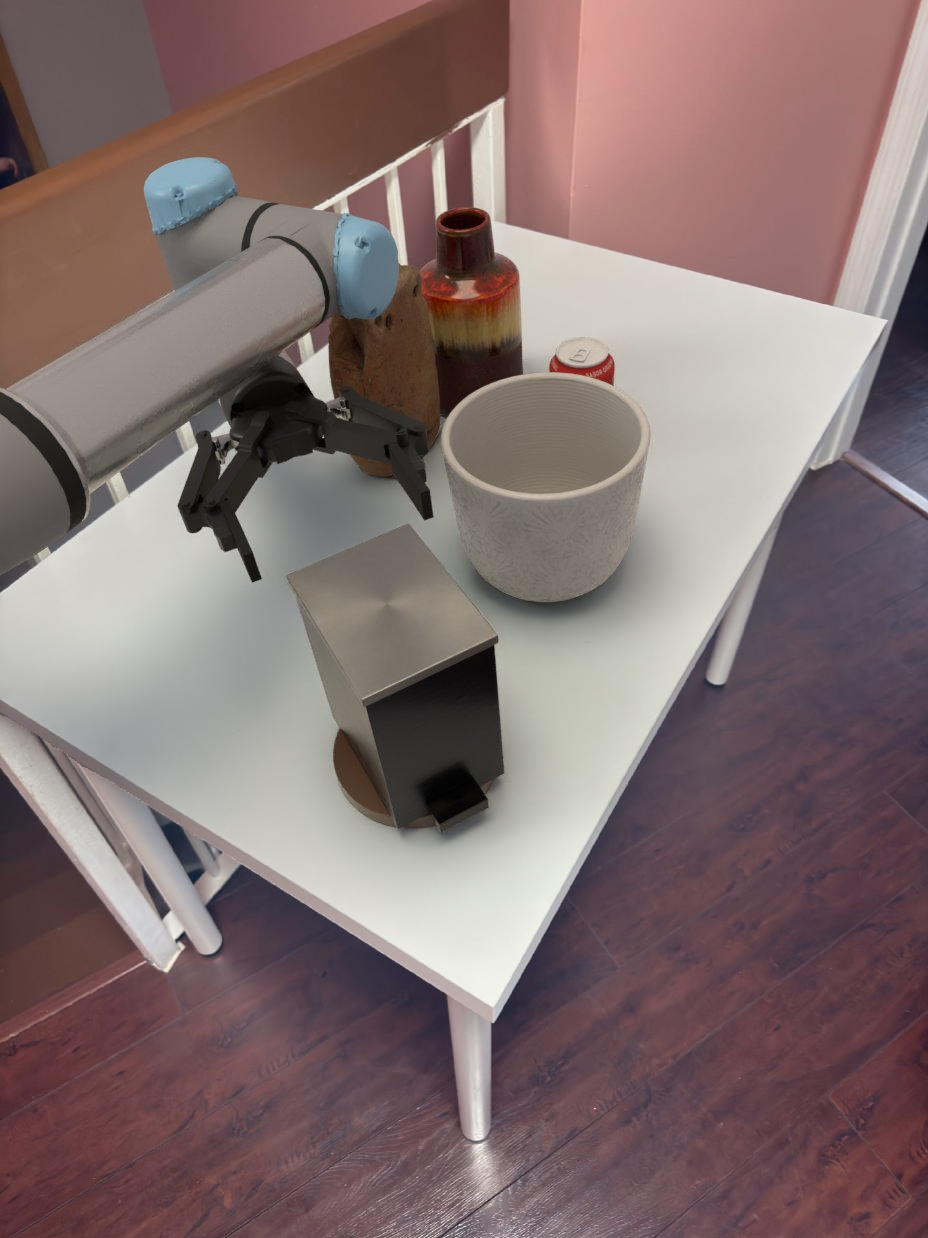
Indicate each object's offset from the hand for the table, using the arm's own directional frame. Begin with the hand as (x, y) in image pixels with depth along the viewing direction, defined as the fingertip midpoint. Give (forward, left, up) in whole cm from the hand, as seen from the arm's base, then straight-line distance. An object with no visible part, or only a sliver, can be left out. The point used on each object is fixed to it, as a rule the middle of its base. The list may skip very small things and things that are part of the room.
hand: (342, 536), depth 66 cm
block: (+13, +27, -16) cm, 34 cm away
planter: (+19, +4, -16) cm, 25 cm away
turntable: (0, -10, -16) cm, 18 cm away
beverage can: (+30, +17, -16) cm, 38 cm away
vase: (+25, +32, -16) cm, 44 cm away
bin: (0, -11, -14) cm, 18 cm away
